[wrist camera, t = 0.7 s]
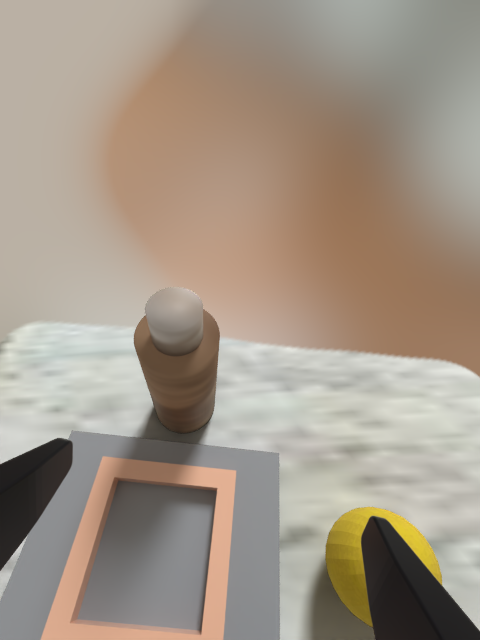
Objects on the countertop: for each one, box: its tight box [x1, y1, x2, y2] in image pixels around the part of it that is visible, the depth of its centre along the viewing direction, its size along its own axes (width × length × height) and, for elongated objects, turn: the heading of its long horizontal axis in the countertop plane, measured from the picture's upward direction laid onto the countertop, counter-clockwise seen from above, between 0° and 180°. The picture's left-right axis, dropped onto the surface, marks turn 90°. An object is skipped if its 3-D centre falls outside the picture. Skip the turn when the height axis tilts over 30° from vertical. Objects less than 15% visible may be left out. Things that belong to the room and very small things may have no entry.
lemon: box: [326, 507, 442, 627], centre depth 17 cm, size 6×6×8 cm
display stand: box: [0, 431, 280, 640], centre depth 19 cm, size 13×16×2 cm
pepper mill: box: [134, 287, 220, 433], centre depth 21 cm, size 5×5×13 cm
